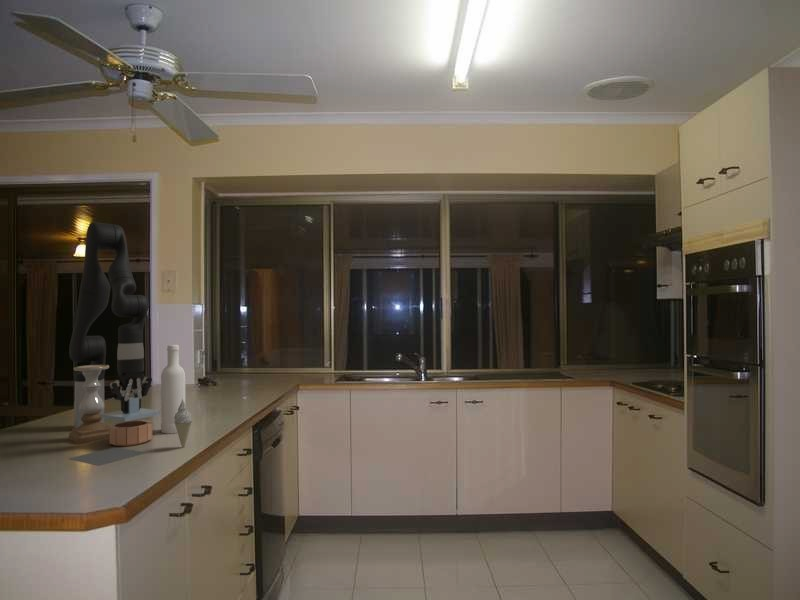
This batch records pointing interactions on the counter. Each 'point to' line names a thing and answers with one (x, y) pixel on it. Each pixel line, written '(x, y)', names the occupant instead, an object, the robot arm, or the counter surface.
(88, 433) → the candle holder
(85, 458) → the mat
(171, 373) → the bottle
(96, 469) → the counter surface
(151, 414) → the lid
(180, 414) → the ice cream cone
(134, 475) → the counter surface
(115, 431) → the bowl
